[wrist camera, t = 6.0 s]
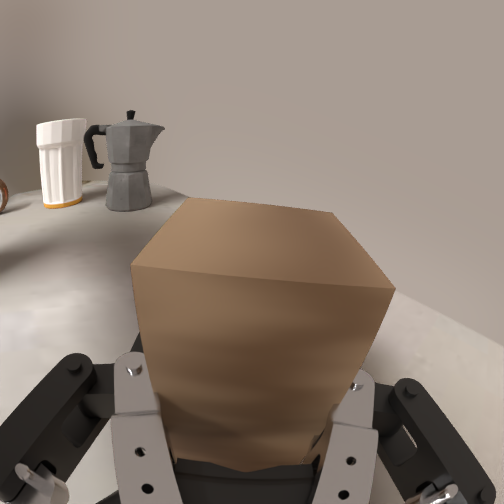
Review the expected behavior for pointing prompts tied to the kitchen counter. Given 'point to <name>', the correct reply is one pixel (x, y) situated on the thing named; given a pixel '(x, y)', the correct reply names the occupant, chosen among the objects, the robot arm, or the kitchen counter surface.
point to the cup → (61, 161)
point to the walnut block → (253, 327)
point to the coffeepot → (125, 161)
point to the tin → (3, 195)
